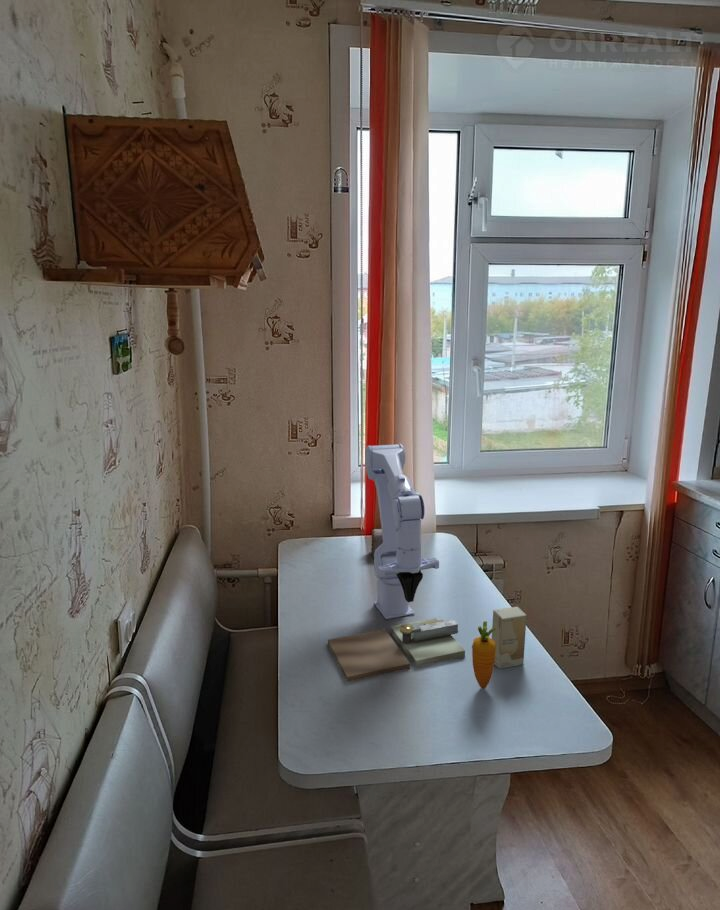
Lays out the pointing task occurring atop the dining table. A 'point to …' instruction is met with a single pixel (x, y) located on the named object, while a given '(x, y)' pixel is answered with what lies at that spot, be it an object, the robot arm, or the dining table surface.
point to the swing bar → (430, 630)
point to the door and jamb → (390, 651)
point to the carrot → (483, 656)
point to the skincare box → (509, 636)
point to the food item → (377, 540)
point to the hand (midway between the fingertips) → (409, 600)
